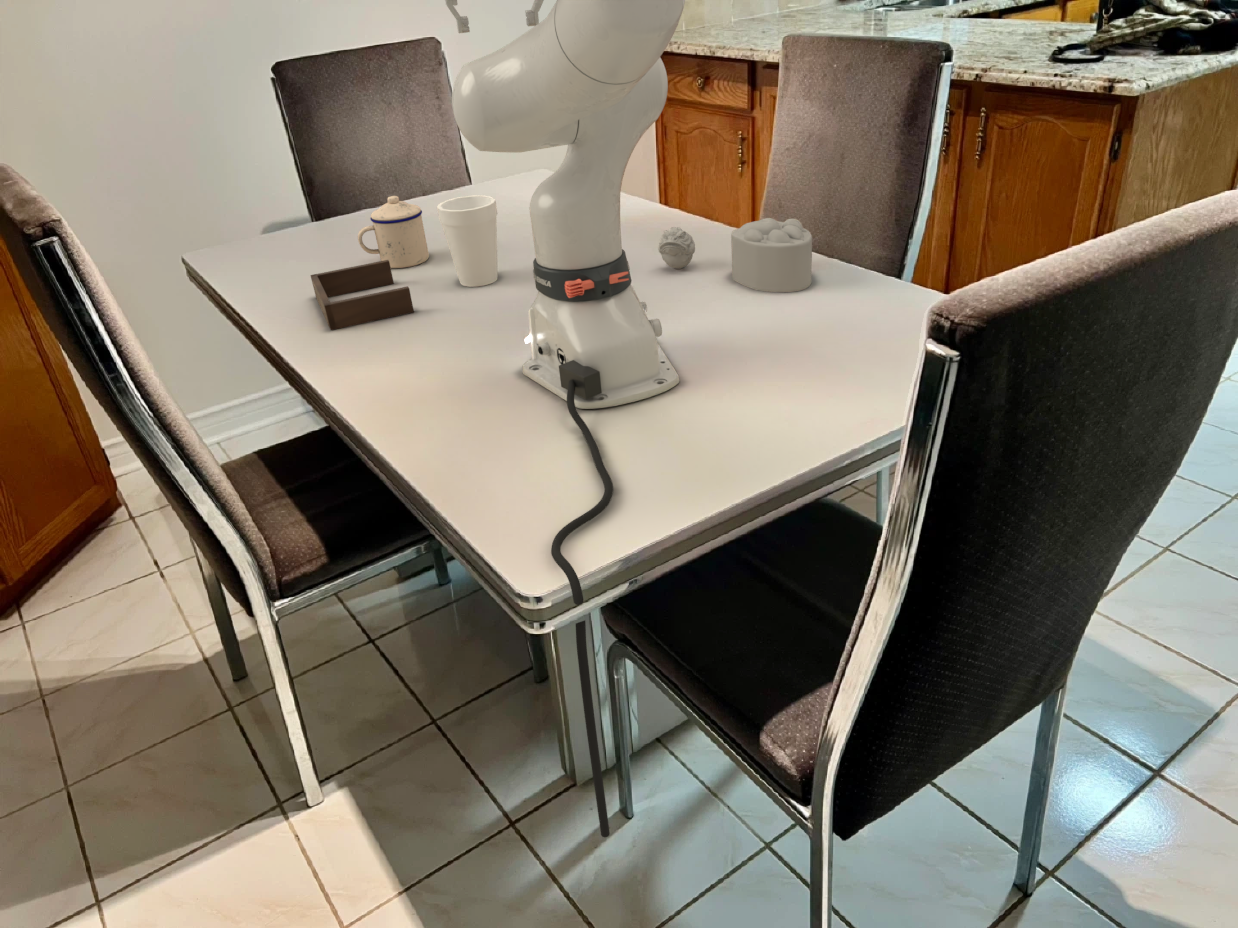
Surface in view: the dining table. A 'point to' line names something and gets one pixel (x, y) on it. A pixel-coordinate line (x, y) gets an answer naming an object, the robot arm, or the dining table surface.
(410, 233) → the teacup with lid
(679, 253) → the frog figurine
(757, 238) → the lumpy-topped squat cylinder
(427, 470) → the dining table surface
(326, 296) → the bay
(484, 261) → the foam cup
